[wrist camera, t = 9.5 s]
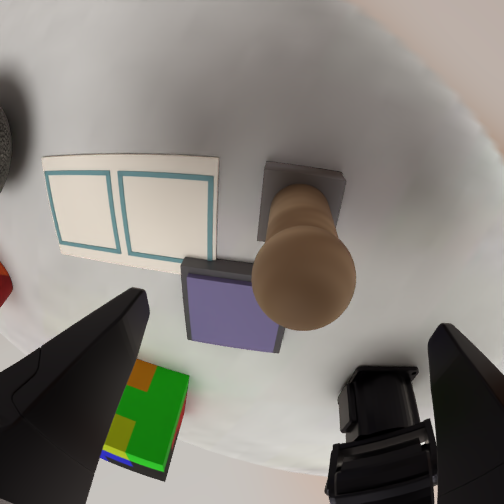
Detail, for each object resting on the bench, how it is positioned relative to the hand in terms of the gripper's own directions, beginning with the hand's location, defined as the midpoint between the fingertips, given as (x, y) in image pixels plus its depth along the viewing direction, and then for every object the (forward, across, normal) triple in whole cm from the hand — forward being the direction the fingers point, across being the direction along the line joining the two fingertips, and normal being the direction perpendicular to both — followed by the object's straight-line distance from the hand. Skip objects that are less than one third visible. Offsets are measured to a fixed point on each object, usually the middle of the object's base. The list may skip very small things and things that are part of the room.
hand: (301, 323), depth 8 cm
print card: (+9, +11, +2) cm, 15 cm away
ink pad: (+9, +3, +8) cm, 13 cm away
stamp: (+9, 0, 0) cm, 9 cm away
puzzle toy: (+10, +13, +23) cm, 28 cm away
